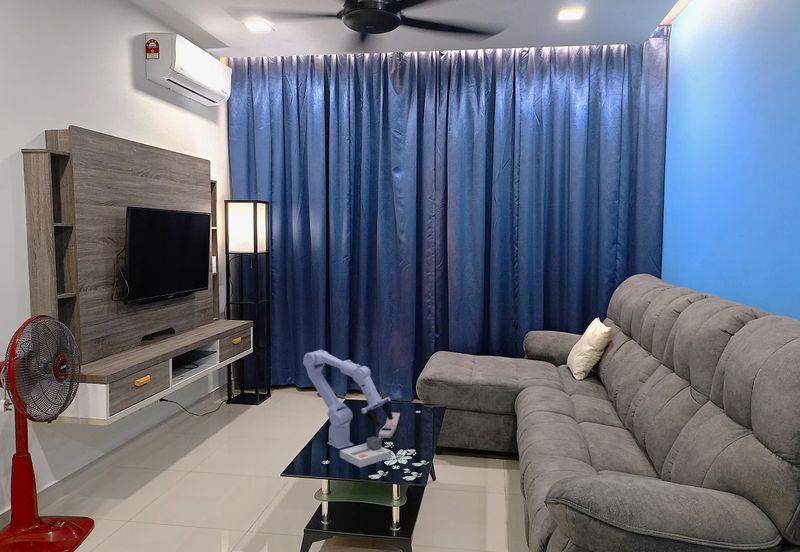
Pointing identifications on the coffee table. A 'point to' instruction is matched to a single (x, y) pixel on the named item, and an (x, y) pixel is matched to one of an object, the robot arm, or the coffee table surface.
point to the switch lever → (374, 442)
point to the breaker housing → (364, 455)
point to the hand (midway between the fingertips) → (384, 423)
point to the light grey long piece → (389, 426)
